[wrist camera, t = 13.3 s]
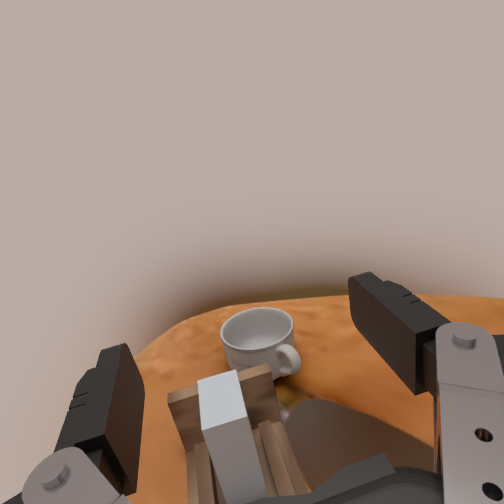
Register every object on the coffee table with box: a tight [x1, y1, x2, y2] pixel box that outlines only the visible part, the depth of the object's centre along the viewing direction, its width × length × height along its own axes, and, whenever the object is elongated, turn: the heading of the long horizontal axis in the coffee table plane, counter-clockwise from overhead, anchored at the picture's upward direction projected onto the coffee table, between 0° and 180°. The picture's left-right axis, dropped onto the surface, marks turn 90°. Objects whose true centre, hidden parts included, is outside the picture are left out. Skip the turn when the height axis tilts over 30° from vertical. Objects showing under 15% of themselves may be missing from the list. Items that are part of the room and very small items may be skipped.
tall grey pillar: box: [197, 369, 268, 504], centre depth 34 cm, size 4×6×12 cm, turn 12°
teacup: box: [220, 307, 302, 380], centre depth 50 cm, size 14×11×8 cm
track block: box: [168, 363, 308, 504], centre depth 34 cm, size 12×16×9 cm
